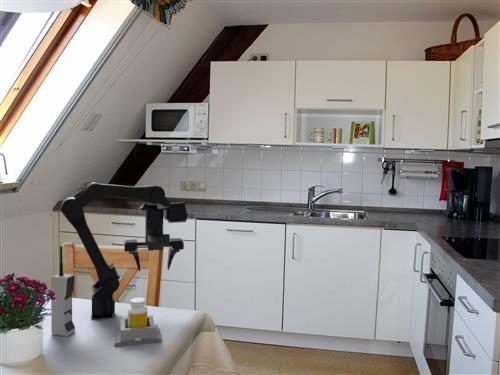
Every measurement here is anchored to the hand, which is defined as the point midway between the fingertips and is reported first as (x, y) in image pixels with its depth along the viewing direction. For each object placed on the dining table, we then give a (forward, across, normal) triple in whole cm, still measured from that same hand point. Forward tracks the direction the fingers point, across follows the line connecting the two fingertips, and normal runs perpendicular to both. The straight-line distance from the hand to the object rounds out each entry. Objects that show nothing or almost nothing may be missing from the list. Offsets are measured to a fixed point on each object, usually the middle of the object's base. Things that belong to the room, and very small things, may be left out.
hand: (153, 270), depth 142 cm
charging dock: (+13, -6, -21) cm, 25 cm away
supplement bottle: (+12, -6, -21) cm, 25 cm away
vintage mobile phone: (+13, -26, -14) cm, 32 cm away
